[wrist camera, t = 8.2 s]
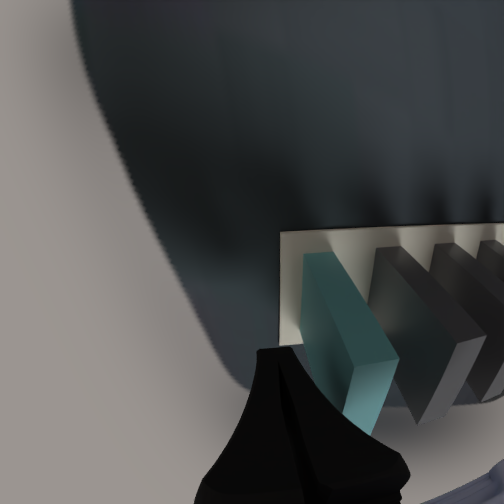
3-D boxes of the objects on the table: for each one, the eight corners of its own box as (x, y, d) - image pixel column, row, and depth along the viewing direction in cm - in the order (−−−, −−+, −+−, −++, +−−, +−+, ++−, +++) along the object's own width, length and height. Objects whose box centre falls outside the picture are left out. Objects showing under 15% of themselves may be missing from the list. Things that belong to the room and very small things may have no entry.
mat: (536, 222, 17) (538, 223, 17) (512, 303, 20) (513, 304, 20) (280, 231, 16) (280, 233, 16) (279, 343, 19) (279, 345, 19)
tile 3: (454, 242, 17) (541, 316, 10) (436, 310, 19) (500, 393, 12) (434, 243, 17) (522, 323, 10) (418, 314, 19) (480, 402, 12)
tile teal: (333, 251, 16) (399, 358, 9) (326, 327, 19) (368, 439, 11) (303, 253, 16) (354, 366, 9) (299, 330, 19) (332, 446, 11)
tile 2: (401, 246, 17) (486, 334, 9) (386, 319, 19) (444, 416, 12) (375, 247, 17) (457, 343, 9) (363, 322, 19) (417, 425, 11)
